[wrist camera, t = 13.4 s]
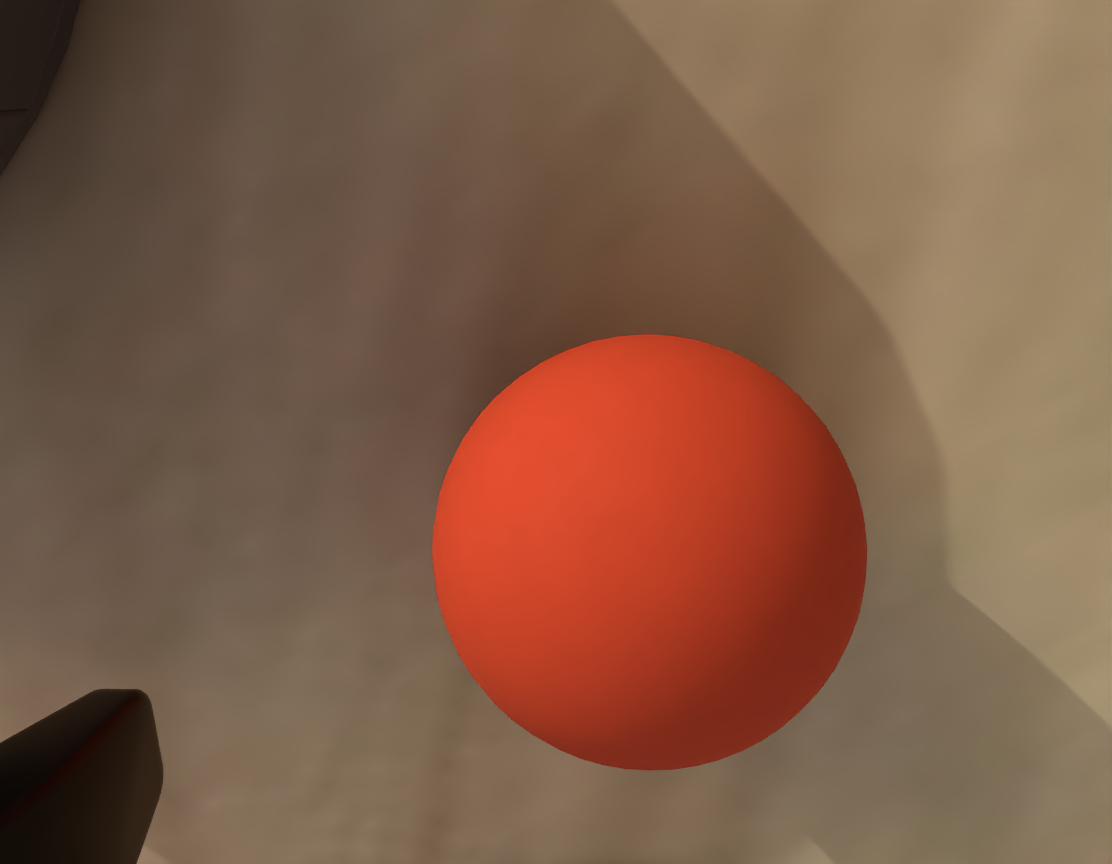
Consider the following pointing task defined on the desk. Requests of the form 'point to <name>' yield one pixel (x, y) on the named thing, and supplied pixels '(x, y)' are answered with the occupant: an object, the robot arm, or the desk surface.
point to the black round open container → (28, 62)
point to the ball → (649, 552)
